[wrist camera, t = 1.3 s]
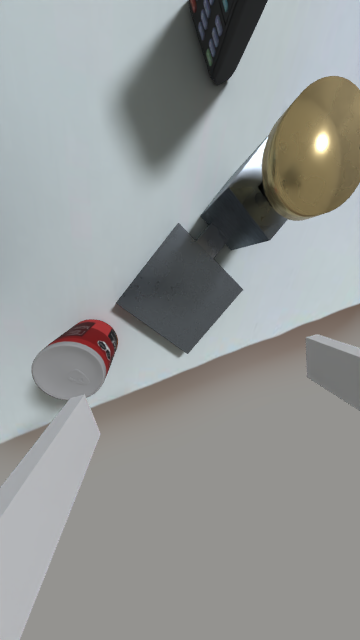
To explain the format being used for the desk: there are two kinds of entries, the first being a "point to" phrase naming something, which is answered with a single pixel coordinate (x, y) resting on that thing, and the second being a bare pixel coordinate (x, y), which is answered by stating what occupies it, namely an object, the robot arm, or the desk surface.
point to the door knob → (314, 151)
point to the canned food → (76, 360)
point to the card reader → (225, 32)
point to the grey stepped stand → (202, 261)
